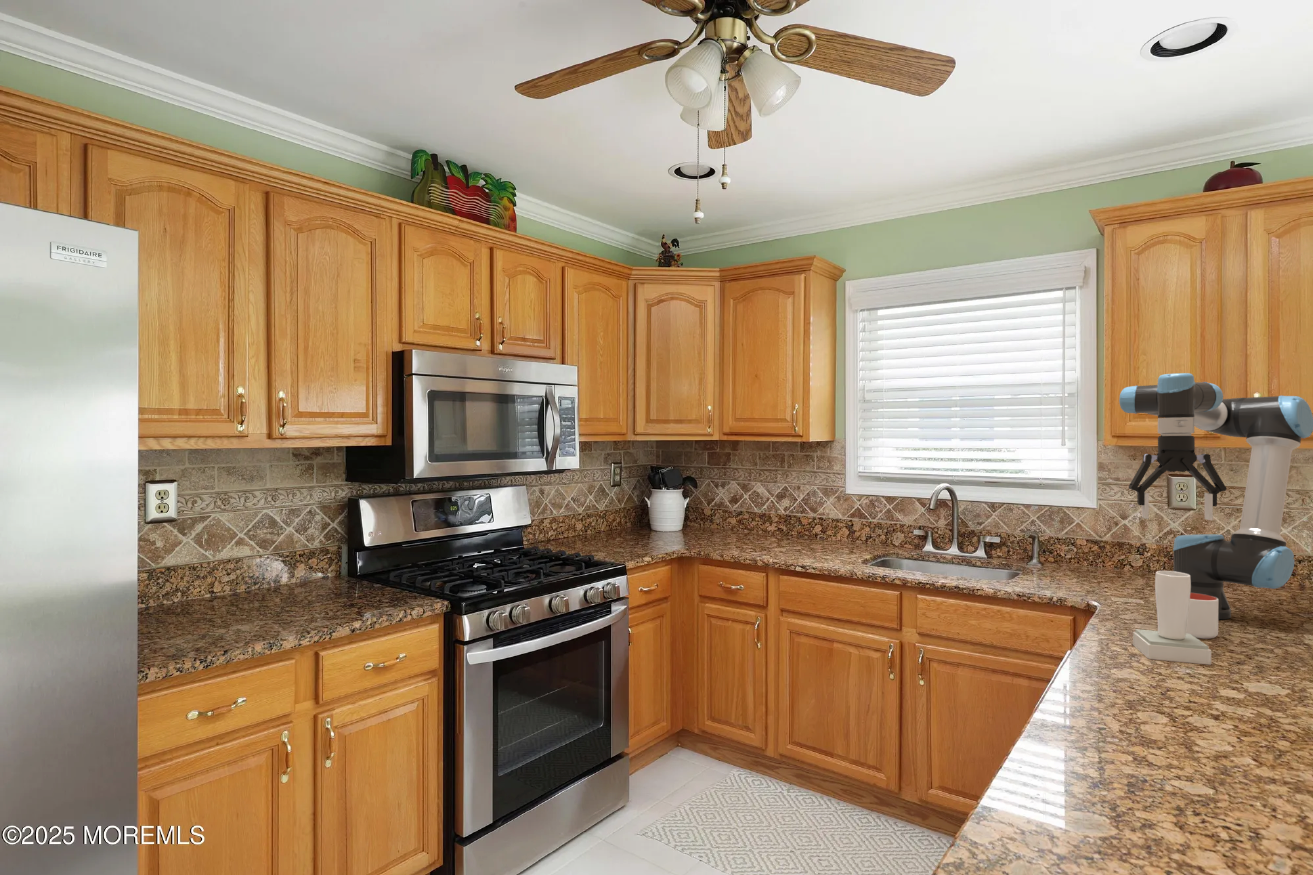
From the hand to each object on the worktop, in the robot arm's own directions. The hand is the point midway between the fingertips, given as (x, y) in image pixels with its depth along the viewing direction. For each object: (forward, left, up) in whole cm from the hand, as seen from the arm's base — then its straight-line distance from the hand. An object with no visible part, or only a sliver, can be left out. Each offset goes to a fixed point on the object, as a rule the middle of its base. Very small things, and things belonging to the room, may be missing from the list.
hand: (1176, 519), depth 180 cm
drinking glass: (+5, +15, -27) cm, 31 cm away
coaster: (+6, +15, -31) cm, 35 cm away
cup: (-6, -8, -31) cm, 32 cm away
